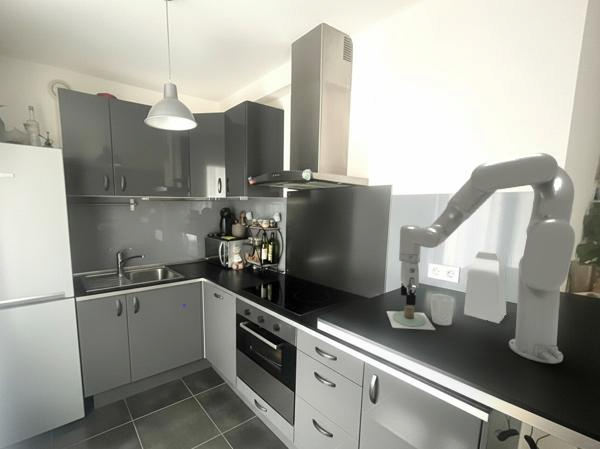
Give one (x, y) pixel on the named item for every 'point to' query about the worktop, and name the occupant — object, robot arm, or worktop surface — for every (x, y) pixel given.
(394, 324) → the mat
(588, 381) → the worktop surface
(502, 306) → the milk
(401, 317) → the lid
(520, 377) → the worktop surface
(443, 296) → the white cup
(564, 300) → the worktop surface
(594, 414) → the worktop surface
